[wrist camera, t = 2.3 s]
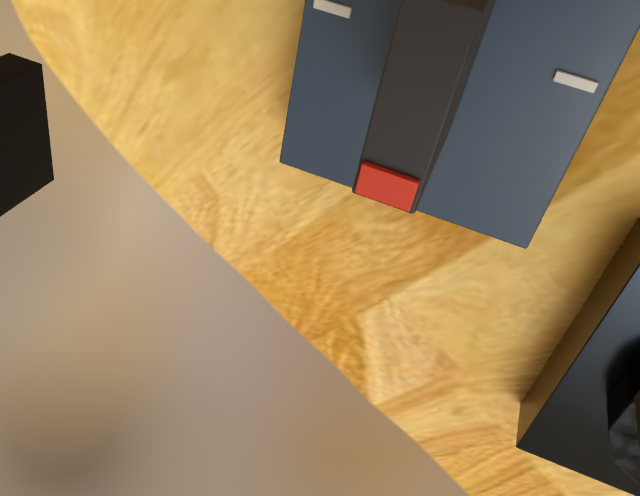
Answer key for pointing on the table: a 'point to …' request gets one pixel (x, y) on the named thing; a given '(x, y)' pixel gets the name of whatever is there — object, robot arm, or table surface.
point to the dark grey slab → (418, 96)
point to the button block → (593, 383)
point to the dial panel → (465, 103)
